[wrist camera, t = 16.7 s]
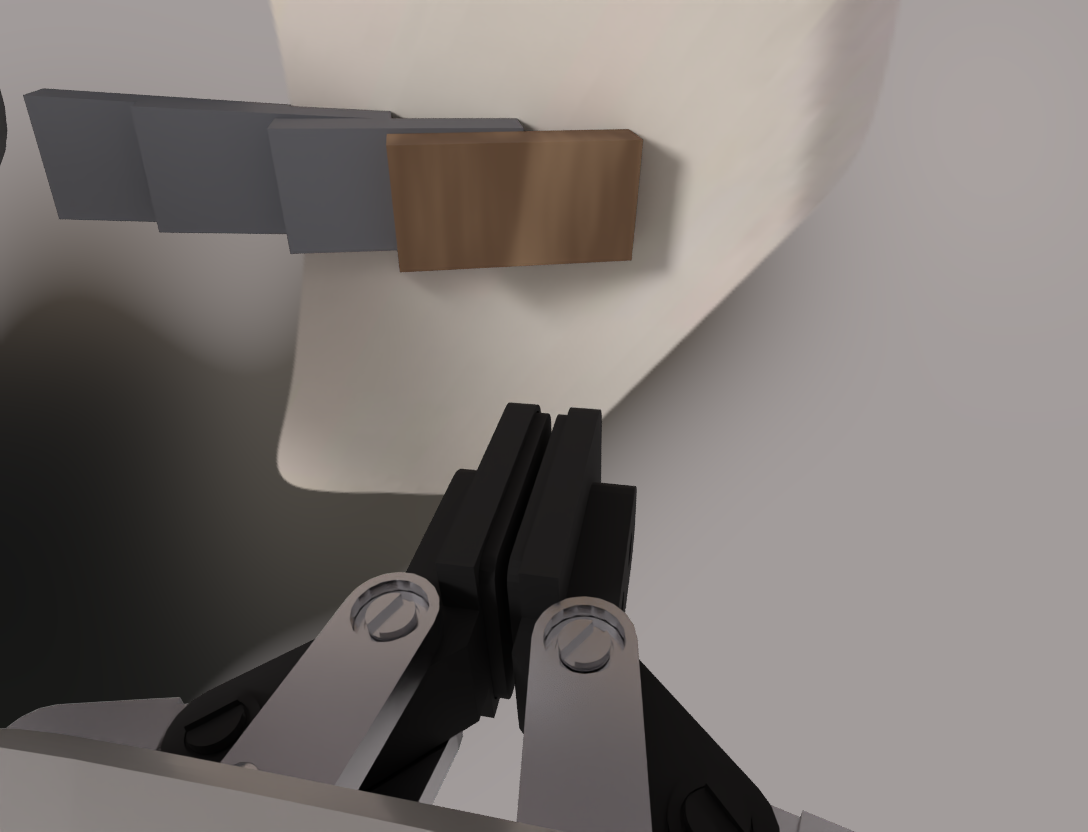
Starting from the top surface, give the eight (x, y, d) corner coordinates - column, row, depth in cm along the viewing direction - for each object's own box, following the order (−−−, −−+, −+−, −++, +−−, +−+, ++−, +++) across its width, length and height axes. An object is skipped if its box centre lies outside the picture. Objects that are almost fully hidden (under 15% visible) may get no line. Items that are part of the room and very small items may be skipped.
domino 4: (619, 244, 31) (399, 254, 29) (628, 129, 28) (386, 133, 27) (631, 260, 29) (399, 272, 28) (643, 139, 27) (386, 145, 25)
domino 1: (301, 213, 33) (76, 206, 31) (290, 104, 31) (43, 88, 29) (297, 225, 32) (59, 219, 30) (285, 111, 29) (23, 95, 27)
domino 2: (395, 222, 33) (171, 218, 31) (390, 111, 30) (144, 98, 28) (396, 235, 31) (159, 232, 29) (391, 119, 28) (129, 106, 26)
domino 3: (515, 231, 32) (296, 237, 30) (516, 118, 29) (274, 118, 27) (522, 246, 30) (290, 253, 29) (523, 128, 27) (266, 128, 26)
